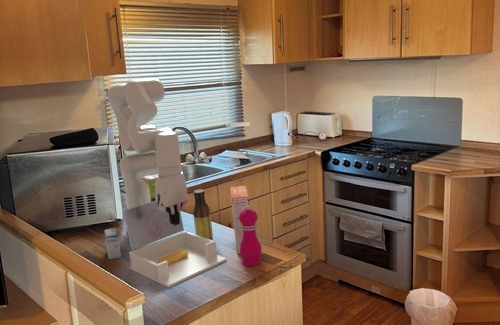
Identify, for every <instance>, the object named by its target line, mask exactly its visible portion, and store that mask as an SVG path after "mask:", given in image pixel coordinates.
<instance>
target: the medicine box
mask: <svg viewBox="0 0 500 325" xmlns="http://www.w3.org/2000/svg"><path fill="white" fill-rule="evenodd" d="M103 233H104V239H105V247H106V253H107V258H108V259H109V260H112V259H117V258H121V256H122V253H121V252H122V251H121V245H120V239H119V233H118V230H117V228H114V227H113V228H108V229H105V230H103Z"/></svg>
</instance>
